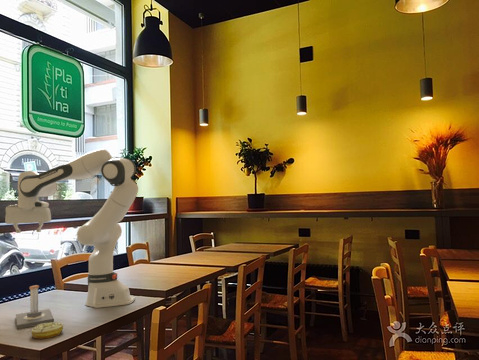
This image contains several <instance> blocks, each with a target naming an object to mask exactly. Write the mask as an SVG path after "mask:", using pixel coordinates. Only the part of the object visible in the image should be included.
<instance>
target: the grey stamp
mask: <svg viewBox="0 0 479 360" xmlns="http://www.w3.org/2000/svg"><path fill="white" fill-rule="evenodd" d="M28 287H29V288H28V289H29V290H30V291H29V292H30V302H29V303H30V305H29V307H30V311H29V313H27V312H26V313H27V317H31V318H35V317H38V316H41V315H42V311H40V310H39V288H40V285H38V284H35V285H31V286H28Z"/></svg>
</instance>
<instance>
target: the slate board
mask: <svg viewBox="0 0 479 360" xmlns="http://www.w3.org/2000/svg"><path fill="white" fill-rule="evenodd" d="M39 311H42V315H41V316H38V317H35V318H31V317H27V313H29V312H30V311H29V312H22V313H16V314H15V321H16V322H15V323H16V329H17V330H20V329H26V328H30V327H35V326H37V325H39V324H43V323H49V322H55V318H54V316H53V314H52V312H51V310H50V308H47V309H42V310H39Z"/></svg>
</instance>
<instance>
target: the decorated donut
mask: <svg viewBox="0 0 479 360" xmlns="http://www.w3.org/2000/svg"><path fill="white" fill-rule="evenodd" d="M63 329H64V324H63V323H62V322H57V321H54V322H49V323H43V324H39V325H37V326H33V327H32V329H31V332H30V333H31V335H32V337H33V338H34V339H39V340H40V339H41V340H42V339H51V338H55V337H56V336H57V337H58V335H60V334H61V333H62V331H63Z"/></svg>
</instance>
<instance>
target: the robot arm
mask: <svg viewBox="0 0 479 360" xmlns="http://www.w3.org/2000/svg"><path fill="white" fill-rule="evenodd" d="M136 171H137V167H136V164H135V162H134V161H133V160H131V159H129V158H127V157H118V156H117V157H115V158H114V157H112V155H111V154H110V152H109V151H108V150H106V148H98V149H95V150H91V151H88V152H86V153H84V154H82V155H80V156H78V157H76V158H73V159H72V160H70V161H68V162H66V163H63V164H61V165H59V166H56V167H53V168H51V169H49V170H46V171H44V172H41V173H38V171H36V170H26V171H25V170H24V171H21V172H20V173H19V174H18V178H17V192H18V196H17V204H8V205H6V207H5V218H4V219H5V221H4V222H5V223H6V224H7V225H9V224H10V225H11V224H12V225H13V227H14V229H15V233H16V234H21V228H19V224H37V223H38V225H39V226H38V228H36V229H35V230H36V233H41V232H42V227H43V226H44V223H50V222H51V220H52V214H51V209H50V208H49V206H50V203H49V202H46V201H43V200H40V199H39V198H41V197H42V198H43V197H44V198H45V197H46V198H47V197H51V196H53V195H54V194H56V192H57V189H58V185H57V183H58V182H61V181H67V180H69V181H70V180H71V181H72V180H76V181H77V180H79V181H82V180H86V179H88V178H92V177H94V176H96V175H98V174H101V176H102V177H103V179H105V180H106V181H107V182H108V183H109V185H111V186H112V187H113V190H112V191H111V193H110V194H109V195H108V197H107V199H106V201H105V202H104V204H103V206H102V207H101V208H100V209H99V210H98V211H97V212H96V213H95V214H94V215H93V216H92V218H90V219H89V220H88V221H87V222H85V223H84V224H83V225H81V226H80V227H79V228H78V229H77V232H76V237H77V238H76V239H77V240H78V242H79V243H80V244H81V245H83V246H87V247H93V251H92V252H91V254H90V255H89V256H88V273H87V287H88V289H87V290H88V291H87V296H86V301H85V306H88V307H92V308H94V309H98V308H107V307H115V306H117V307H118V306H123V305H126V306H127V305H130V304H131V303H133V302H134V301H135V296H134V295H131V294H130V289H129V286H127V285H126V284H124V283H123V282H121V280H119V279H118V272H115V271H114V252H115V248H116V245H117V242H118V240H119V239H120V237H121V236H122V227H121V225H120V224H119V222H121V221H122V220H123V219H124V218H125V216H126V214H127V213H128V211H129V210H130V208H131V206H132V205H133V204H134V201H135V199H136V197H137V195H138V192H139V186H138V184H137V183H136V182H135V181H133V179H132V178H133V177H134V176H135V174H136Z"/></svg>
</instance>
